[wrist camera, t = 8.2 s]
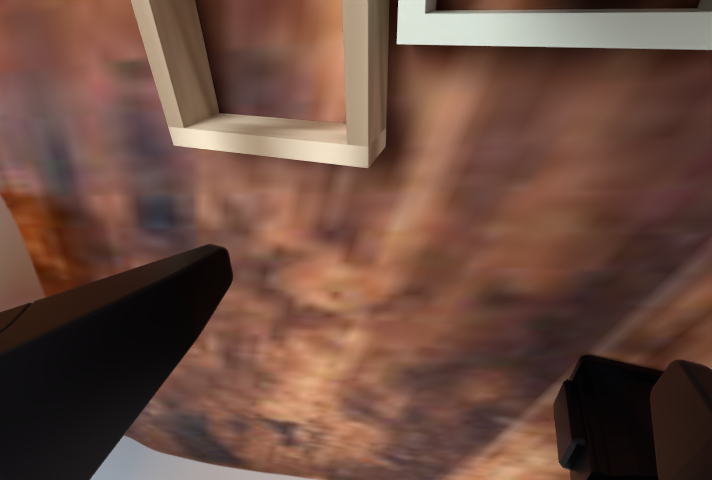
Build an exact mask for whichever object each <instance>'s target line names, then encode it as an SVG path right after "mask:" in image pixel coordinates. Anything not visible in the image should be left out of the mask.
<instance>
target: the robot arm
mask: <svg viewBox="0 0 712 480" xmlns="http://www.w3.org/2000/svg"><path fill="white" fill-rule="evenodd" d="M232 280H233V272H232V267H231V262H230V257H229V253H228V250H227V249H226V248H225V247H222V246H218V245H214V244H208V245H205V246H201V247H198V248H195V249H192V250H189V251H186V252H183V253H180V254H177V255H174V256H171V257H168V258H165V259H162V260H159V261H156V262H153V263H149V264H146V265H143V266H140V267H137V268H134V269H131V270H128V271H125V272H122V273H119V274H116V275H113V276H110V277H107V278H104V279H101V280H98V281H94V282H91V283H88V284H85V285H82V286H79V287H76V288H73V289H70V290H67V291H64V292H61V293H58V294H55V295H52V296H49V297H46V298H43V299H39V300H36V301H34V302H33V303H27V304H24V305H21V306H18V307H15V308H12V309H9V310H6V311H2V312H0V480H90V479H91V477H92V476H93V475H94V474H95V472H96V471H97V470H98V468H99V467H100V466H101V464H102V463H103V462H104V460H105V459H106V458H107V457H108V455H109V454H110V453H111V451H112V450H113V449H114V447H115V446H116V445H117V443H118V442H119V441H120V439H121V438H122V437H123V436H124V434H125V433H126V432H127V430H128V429H129V428H130V426H131V425H132V424H133V422H134V421H135V420H136V418H137V417H138V416H139V415H140V413H141V412H142V411H143V409H144V408H145V407H146V405H147V404H148V403H149V401H150V400H151V399H152V397H153V396H154V395H155V394H156V392H157V391H158V390H159V388H160V387H161V386H162V384H163V383H164V382H165V380H166V379H167V378H168V376H169V375H170V374H171V373H172V371H173V370H174V369H175V367H176V366H177V365H178V363H179V362H180V361H181V359H182V358H183V357H184V355H185V354H186V353H187V352H188V350H189V349H190V348H191V346H192V345H193V344H194V342H195V341H196V339H197V338H198V337H199V335H200V334H201V332H202V331H203V329H204V328H205V326H206V324H207V323H208V321H209V319H210V318H211V316H212V315H213V313H214V311H215V310H216V308H217V306H218V305H219V303H220V302H221V300H222V298H223V297H224V295H225V293H226V292H227V290H228V289H229V287H230V285H231V283H232ZM588 363H591V364H588ZM554 420H555V427H556V437H557V448H558V458H559V463H560V464H561V466H562V467H563V468H565V469H568V470H570V477H571V480H712V370H711V369H710V368H708V367H707V366H704V365H702V364H698V363H693V362H689V361H685V360H675V361H673V362H672V363H671V364H670V365H669V366H668V367H667V369H666V370H665V372H663V371H658V370H654V369H649V368H645V367H640V366H636V365H632V364H627V363H623V362H618V361H614V360H610V359H605V358H601V357H596V356H592V355H584V356H582V357H580V359H579V360H578V363H577V365H576V367H575V369H574V371H573V373H572V375H571V377H570V380H566V381H565V382H564V383H563V385H562V387H561V389H560V391H559V393H558V396H557V398H556V400H555V402H554Z"/></svg>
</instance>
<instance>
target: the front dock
mask: <svg viewBox="0 0 712 480" xmlns="http://www.w3.org/2000/svg"><path fill="white" fill-rule="evenodd" d="M436 3H437V0H398V23H397V44H414V45H469V46H524V47H579V48H634V49H689V50H712V0H700V2H699V4H698V7H697V8H677V9H551V10H436Z"/></svg>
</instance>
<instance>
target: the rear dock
mask: <svg viewBox="0 0 712 480" xmlns="http://www.w3.org/2000/svg"><path fill="white" fill-rule="evenodd" d="M131 2H132V6H133V9H134V13H135V16H136V19H137V23H138V26H139V29H140V33H141V36H142V39H143V43H144V46H145V50H146V53H147V56H148V60H149V63H150V66H151V70H152V73H153V77H154V80H155V83H156V87H157V90H158V93H159V97H160V100H161V103H162V107H163V110H164V114H165V117H166V120H167V124H168V127H169V130H170V134H171V137H172V140H173V144H174V145H175V146H184V147H193V148H201V149H210V150H218V151H227V152H235V153H244V154H252V155H261V156H269V157H278V158H286V159H295V160H303V161H312V162H320V163H329V164H337V165H346V166H354V167H363V168H369V167H370V165H371V164H372V163H373V162H374V160H375V159H376V158H377V157H378V155H379V154H380V153H381V152H382V150H383V149H384V148H385V147H386V120H387V79H388V39H389V0H342V13H343V43H344V72H345V101H346V124H344V123H332V122H320V121H308V120H296V119H284V118H272V117H260V116H248V115H236V114H224V113H219V108H218V104H217V99H216V94H215V90H214V85H213V81H212V76H211V71H210V67H209V62H208V58H207V53H206V48H205V44H204V39H203V35H202V30H201V25H200V21H199V16H198V11H197V7H196V2H195V0H131Z"/></svg>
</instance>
